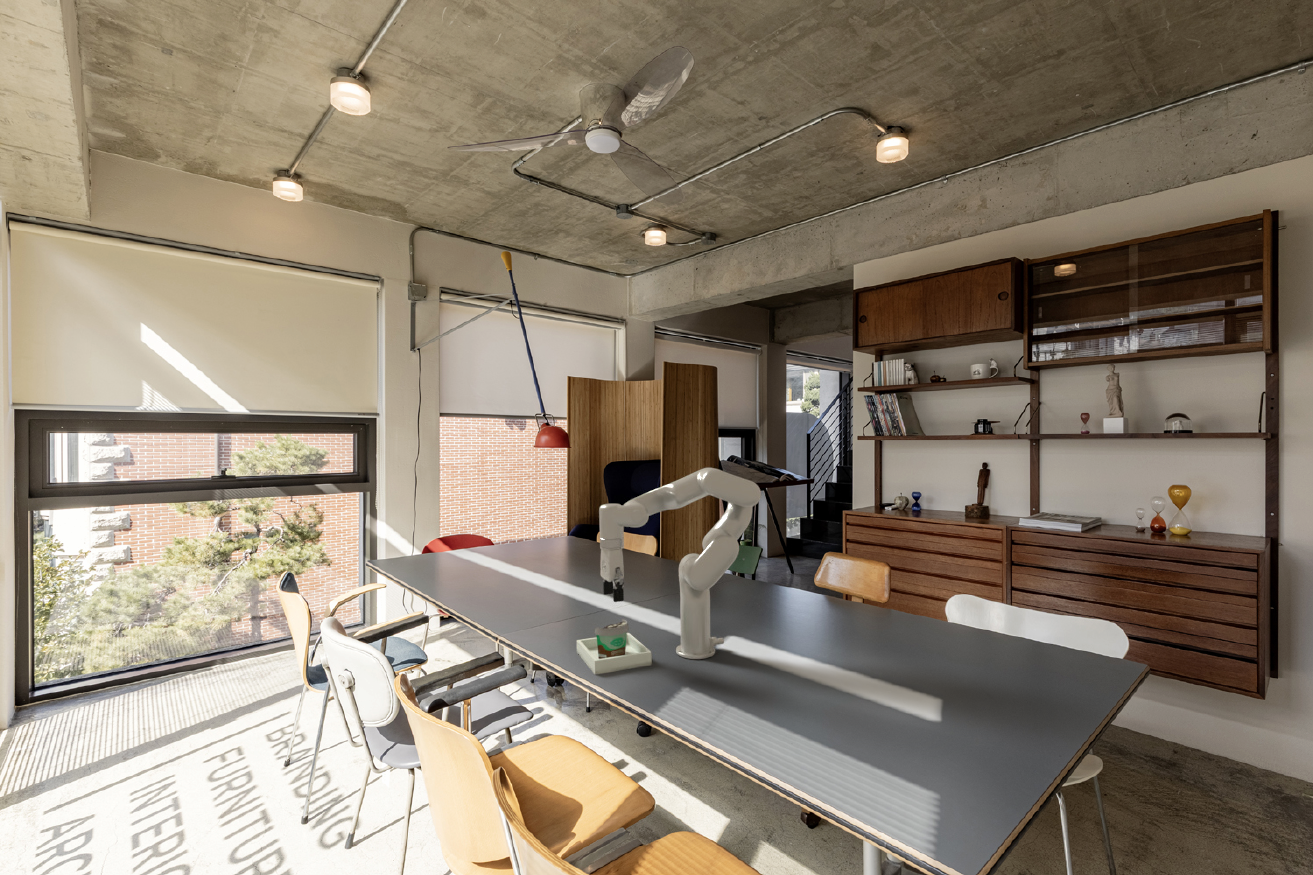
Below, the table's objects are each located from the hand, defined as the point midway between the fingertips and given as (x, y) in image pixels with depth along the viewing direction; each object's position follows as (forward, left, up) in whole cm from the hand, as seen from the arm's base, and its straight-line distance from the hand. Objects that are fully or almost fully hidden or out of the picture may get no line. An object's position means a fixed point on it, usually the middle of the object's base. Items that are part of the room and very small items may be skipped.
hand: (613, 597), depth 190 cm
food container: (0, +2, -18) cm, 18 cm away
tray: (0, 0, -19) cm, 19 cm away
